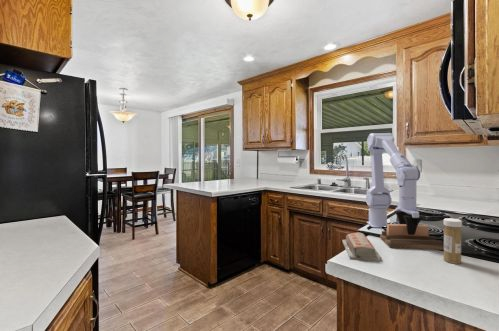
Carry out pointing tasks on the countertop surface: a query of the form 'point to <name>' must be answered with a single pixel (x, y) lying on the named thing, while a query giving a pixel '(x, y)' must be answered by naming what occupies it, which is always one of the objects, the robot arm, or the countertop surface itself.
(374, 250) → the packaged product
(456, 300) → the countertop surface
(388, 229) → the tile strip
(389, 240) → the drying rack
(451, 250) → the sprinkles bottle
